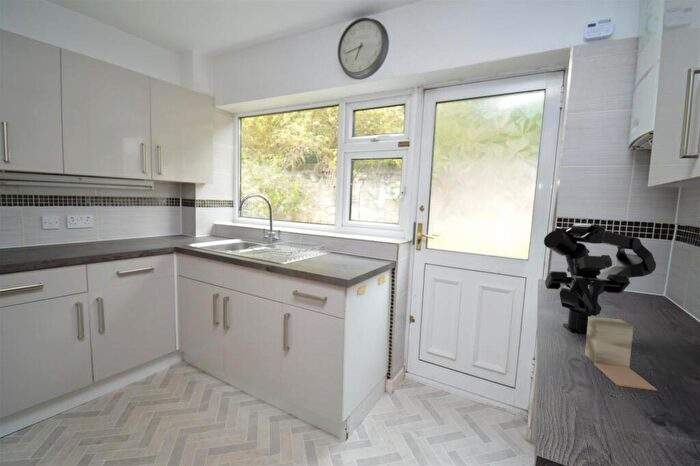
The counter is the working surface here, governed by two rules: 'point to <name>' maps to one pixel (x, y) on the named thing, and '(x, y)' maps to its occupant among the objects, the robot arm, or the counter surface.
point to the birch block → (609, 341)
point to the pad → (624, 376)
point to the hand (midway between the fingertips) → (594, 309)
